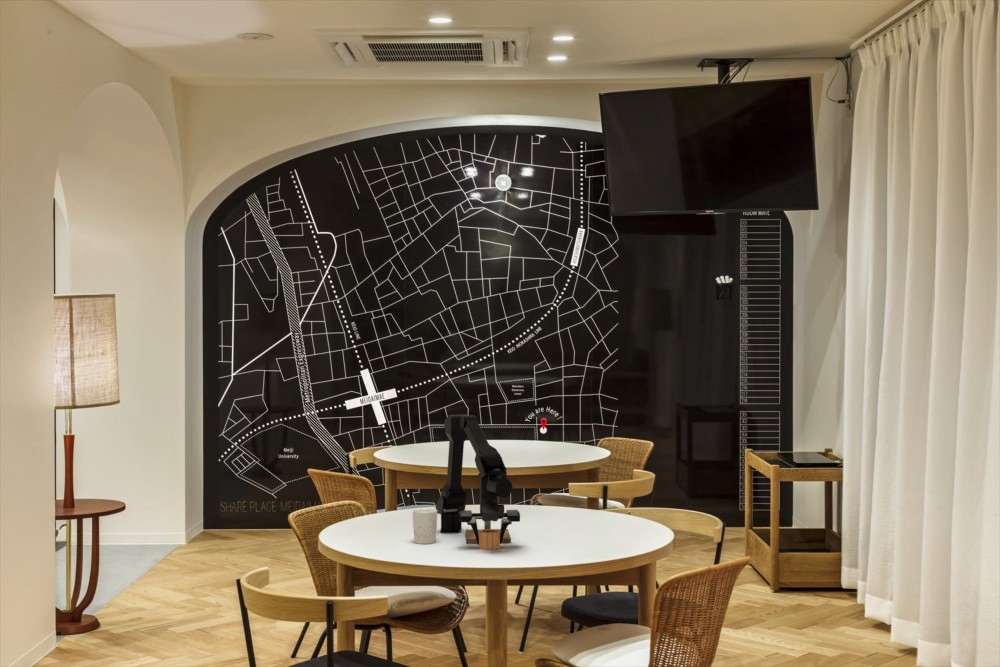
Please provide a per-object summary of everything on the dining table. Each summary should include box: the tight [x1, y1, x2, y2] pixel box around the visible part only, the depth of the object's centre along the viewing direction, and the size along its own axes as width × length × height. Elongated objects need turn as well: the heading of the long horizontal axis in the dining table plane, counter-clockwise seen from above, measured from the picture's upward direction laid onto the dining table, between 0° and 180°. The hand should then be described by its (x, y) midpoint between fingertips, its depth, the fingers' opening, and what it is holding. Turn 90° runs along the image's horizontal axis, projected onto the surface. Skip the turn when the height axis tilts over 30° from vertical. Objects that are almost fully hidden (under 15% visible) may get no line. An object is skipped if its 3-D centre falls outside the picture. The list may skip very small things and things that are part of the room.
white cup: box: [412, 508, 438, 545], centre depth 306 cm, size 8×8×10 cm
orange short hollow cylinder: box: [478, 528, 501, 551], centre depth 297 cm, size 6×6×5 cm
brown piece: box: [465, 521, 512, 545], centre depth 311 cm, size 14×16×6 cm
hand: (489, 544), depth 297 cm, fingers closed on orange short hollow cylinder, 6 cm apart
